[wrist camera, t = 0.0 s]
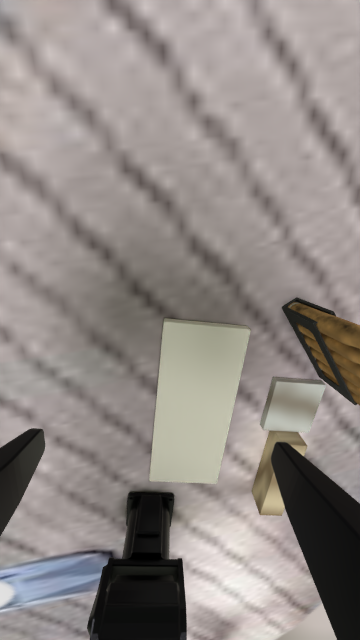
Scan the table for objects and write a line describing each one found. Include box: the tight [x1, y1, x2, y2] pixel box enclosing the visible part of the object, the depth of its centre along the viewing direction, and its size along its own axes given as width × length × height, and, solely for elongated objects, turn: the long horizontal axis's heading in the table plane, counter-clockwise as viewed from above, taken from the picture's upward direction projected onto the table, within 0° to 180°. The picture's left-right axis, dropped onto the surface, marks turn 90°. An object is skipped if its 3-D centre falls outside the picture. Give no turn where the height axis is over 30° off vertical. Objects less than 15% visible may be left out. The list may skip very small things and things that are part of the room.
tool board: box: [149, 318, 251, 484], centre depth 25 cm, size 22×9×1 cm, turn 174°
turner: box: [252, 377, 326, 516], centre depth 26 cm, size 19×6×3 cm, turn 174°
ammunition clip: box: [282, 298, 360, 405], centre depth 18 cm, size 11×2×12 cm, turn 34°
